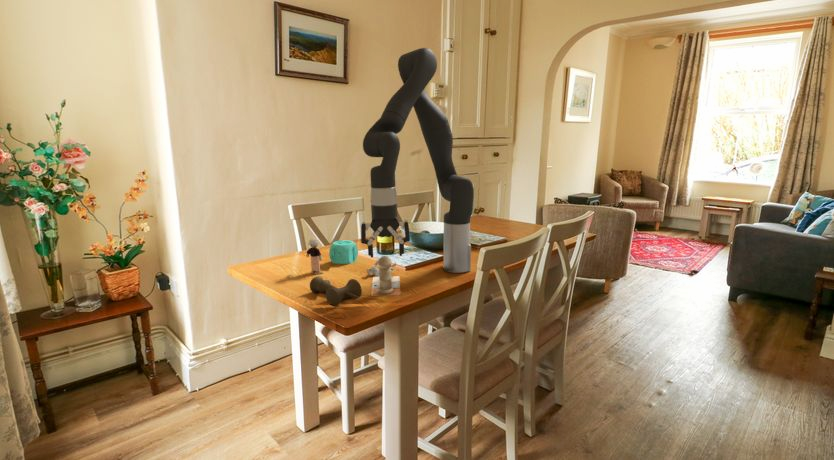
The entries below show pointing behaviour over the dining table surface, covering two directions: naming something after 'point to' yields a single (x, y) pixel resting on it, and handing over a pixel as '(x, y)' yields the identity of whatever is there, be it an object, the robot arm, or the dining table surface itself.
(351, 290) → the kendama
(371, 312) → the dining table surface
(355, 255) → the decorative dice
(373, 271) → the soldier figure
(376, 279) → the board
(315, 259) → the grandmother figurine
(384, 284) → the pawn
